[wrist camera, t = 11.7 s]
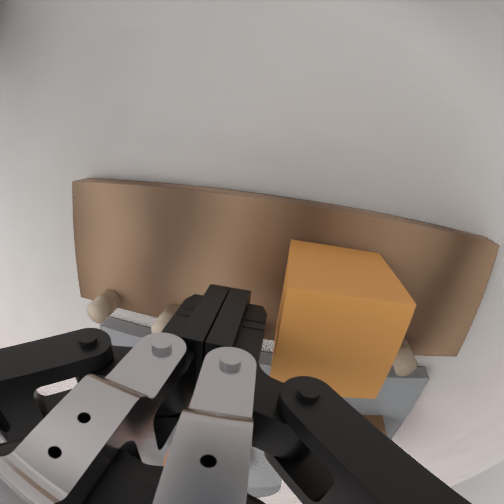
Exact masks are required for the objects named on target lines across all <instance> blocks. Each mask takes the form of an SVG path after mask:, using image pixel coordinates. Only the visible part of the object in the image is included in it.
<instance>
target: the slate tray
mask: <svg viewBox="0 0 504 504" xmlns="http://www.w3.org/2000/svg"><path fill="white" fill-rule="evenodd" d="M100 328H101V330H103V331H105V332H106V333H108V334H109V336H110V338H111V343H112V345H113V346H127V347H134V346H135V345H136V344H137V343H138V342H139V341H140V340H141V339H142V338H143V337H145V336H147V335H149V334H152V331H151V328H149V327H145V326H141V325H137V324H134V323H130V322H127V321H123V320H119V319H116V318H113V317H108V318H107V319H106V320H105V321H104V322H103V323H102V324H101V325H100ZM272 356H273V353H269V352H263V351H261V354H260V359H259V365H260V367H261V369H262V370H263V371H264V372H265V373H266V374H267V375H269V376H270V370H271V363H272ZM428 380H429V376H428V374H427V372H426V370H425V368H424V367H416V369H415V370H414V371H413V372H412V373H411V374H409V375H407V376H398V375H397V374H396V373H395V370H394V367H393V366H391V369H390V371H389V373H388V375H387V377H386V379H385V381H384V383H383V385H382V387H381V389H380V391H379V393H378V395H377V397H376V399H366V398H348V397H342V398H343V399H345V400H346V401H347V402H348V403H349V404H350V405H351V406H352V407H354V408H355V409H356V410H357V411H358V412H359V413H360V414H361V415H383V420H384V424H385V429H386V433H387V437H388V438H389V439H392V437H393V436H394V434H395V433H396V432H397V430H398V429H399V427H400V426H401V424H402V423H403V421H404V420H405V418H406V417H407V415H408V414H409V412H410V410H411V409H412V407H413V406H414V404H415V402H416V401H417V399H418V397H419V396H420V394H421V392H422V391H423V389H424V387H425V385H426V384H427V382H428Z"/></svg>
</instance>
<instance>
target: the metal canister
mask: <svg viewBox="0 0 504 504" xmlns="http://www.w3.org/2000/svg"><path fill="white" fill-rule="evenodd" d="M281 480H282V478H281V477H280V476H279V475H278V473H277V472H276V471H275V470H274V468H273V467H272V466H271V465H270V463H269V462H268V461H267V459H266V458H265V455H264V451H262V450H259V449H257V448H255V447H253V446H251V457H250V468H249V479H248V489H247V493H248V494H250V495H252V496H254V497H256V498H259V497H266V496H270V495H273V494H275V493H277V492H278V491H279V490H280V488H281Z"/></svg>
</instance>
